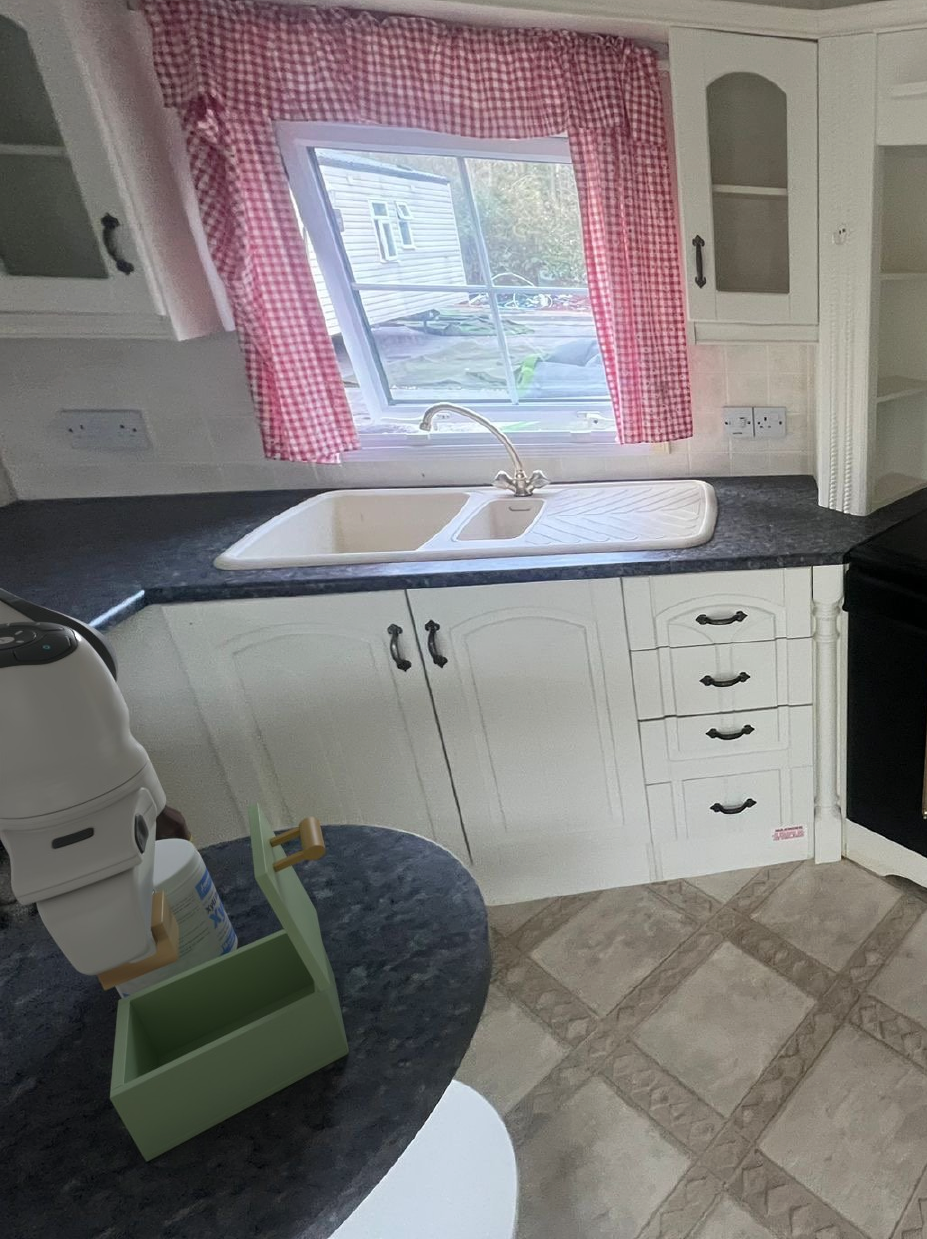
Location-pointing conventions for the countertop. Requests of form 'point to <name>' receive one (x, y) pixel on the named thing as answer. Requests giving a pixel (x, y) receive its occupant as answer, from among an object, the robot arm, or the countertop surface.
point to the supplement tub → (187, 912)
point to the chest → (220, 1041)
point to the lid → (290, 886)
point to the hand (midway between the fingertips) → (145, 931)
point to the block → (166, 946)
